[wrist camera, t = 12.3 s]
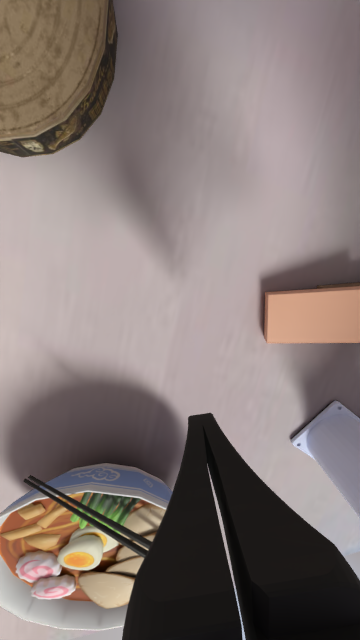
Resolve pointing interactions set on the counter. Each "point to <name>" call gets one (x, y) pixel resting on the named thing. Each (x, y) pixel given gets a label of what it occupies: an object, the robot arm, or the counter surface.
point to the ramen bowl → (79, 545)
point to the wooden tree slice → (53, 71)
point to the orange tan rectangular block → (313, 316)
